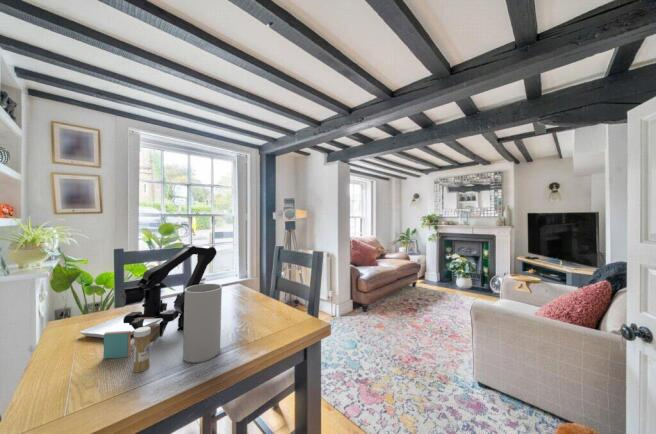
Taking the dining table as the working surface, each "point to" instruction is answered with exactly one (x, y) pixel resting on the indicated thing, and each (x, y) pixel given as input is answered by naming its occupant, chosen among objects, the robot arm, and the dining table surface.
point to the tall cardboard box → (152, 334)
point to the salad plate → (115, 326)
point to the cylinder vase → (202, 322)
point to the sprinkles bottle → (141, 349)
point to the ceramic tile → (117, 344)
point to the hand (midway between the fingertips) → (151, 336)
